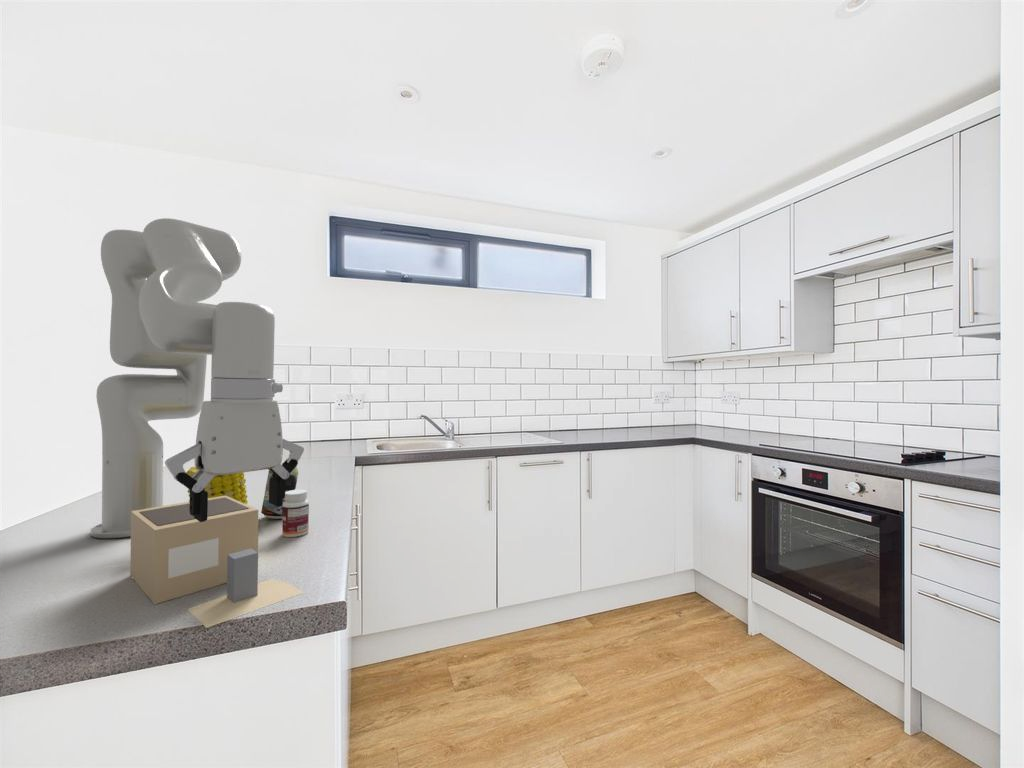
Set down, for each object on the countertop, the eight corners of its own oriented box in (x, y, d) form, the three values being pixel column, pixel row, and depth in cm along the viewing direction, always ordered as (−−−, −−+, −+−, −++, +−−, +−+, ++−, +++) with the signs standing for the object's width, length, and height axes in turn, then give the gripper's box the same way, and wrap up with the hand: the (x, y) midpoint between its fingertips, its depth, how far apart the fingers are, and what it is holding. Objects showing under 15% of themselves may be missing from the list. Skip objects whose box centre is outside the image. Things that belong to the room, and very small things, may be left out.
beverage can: (257, 517, 100) (258, 463, 100) (292, 510, 105) (293, 460, 105) (265, 523, 95) (266, 467, 95) (301, 516, 100) (302, 463, 100)
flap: (178, 604, 61) (178, 556, 61) (270, 575, 71) (270, 534, 71) (206, 631, 54) (206, 578, 54) (303, 596, 64) (303, 550, 64)
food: (257, 538, 90) (200, 556, 82) (229, 516, 97) (174, 530, 88) (263, 468, 88) (205, 479, 80) (234, 449, 94) (178, 458, 86)
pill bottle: (283, 531, 90) (283, 490, 90) (309, 528, 92) (309, 488, 92) (280, 539, 86) (281, 495, 86) (308, 536, 88) (308, 493, 88)
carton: (130, 575, 69) (130, 510, 69) (225, 551, 79) (225, 494, 79) (154, 604, 60) (155, 529, 60) (258, 573, 70) (258, 509, 70)
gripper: (292, 390, 72) (290, 495, 72) (159, 390, 59) (156, 519, 59) (315, 392, 67) (312, 505, 68) (176, 393, 54) (173, 533, 54)
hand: (240, 511), depth 63 cm, fingers open, 9 cm apart
